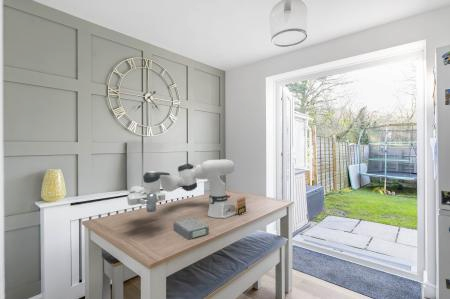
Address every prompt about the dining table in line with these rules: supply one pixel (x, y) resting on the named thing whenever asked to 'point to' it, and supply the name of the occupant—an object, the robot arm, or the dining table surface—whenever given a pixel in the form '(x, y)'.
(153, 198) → the cylinder
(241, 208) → the ammunition clip
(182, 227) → the kitchen scale
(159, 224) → the dining table surface
